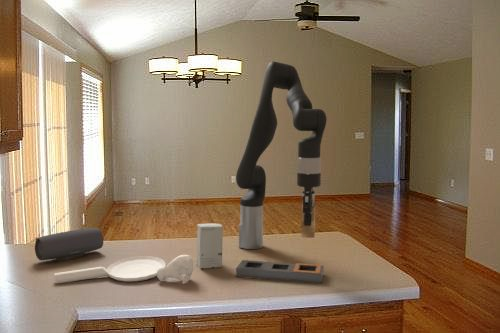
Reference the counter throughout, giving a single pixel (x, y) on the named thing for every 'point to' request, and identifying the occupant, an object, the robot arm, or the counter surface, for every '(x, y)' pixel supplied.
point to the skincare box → (209, 245)
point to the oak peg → (308, 230)
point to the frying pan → (117, 270)
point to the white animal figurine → (177, 269)
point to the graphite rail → (281, 271)
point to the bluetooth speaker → (68, 244)
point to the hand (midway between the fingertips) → (308, 223)
